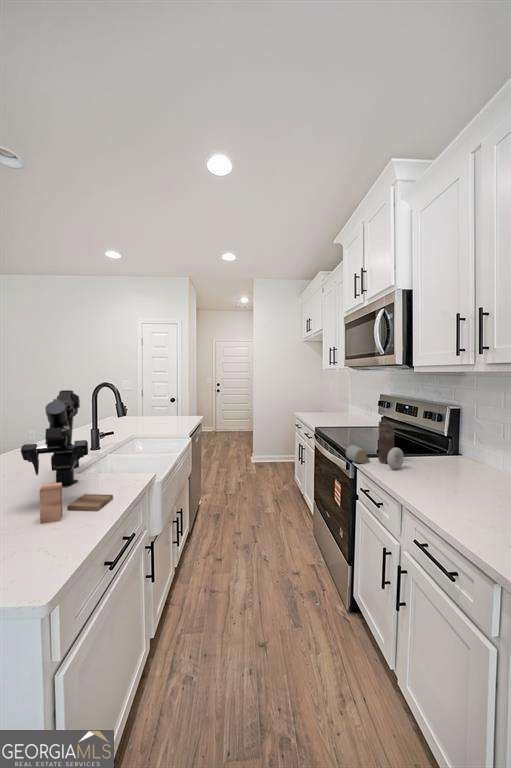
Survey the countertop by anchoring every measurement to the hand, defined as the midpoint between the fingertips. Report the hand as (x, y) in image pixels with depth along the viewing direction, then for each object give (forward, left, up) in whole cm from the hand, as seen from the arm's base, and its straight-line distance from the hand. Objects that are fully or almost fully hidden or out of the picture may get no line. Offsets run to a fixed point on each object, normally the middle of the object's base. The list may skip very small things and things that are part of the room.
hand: (53, 472), depth 104 cm
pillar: (+5, +3, -12) cm, 14 cm away
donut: (-53, +126, -12) cm, 137 cm away
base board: (-6, +9, -12) cm, 16 cm away
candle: (-65, +126, -12) cm, 142 cm away
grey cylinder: (-65, +112, -13) cm, 130 cm away
